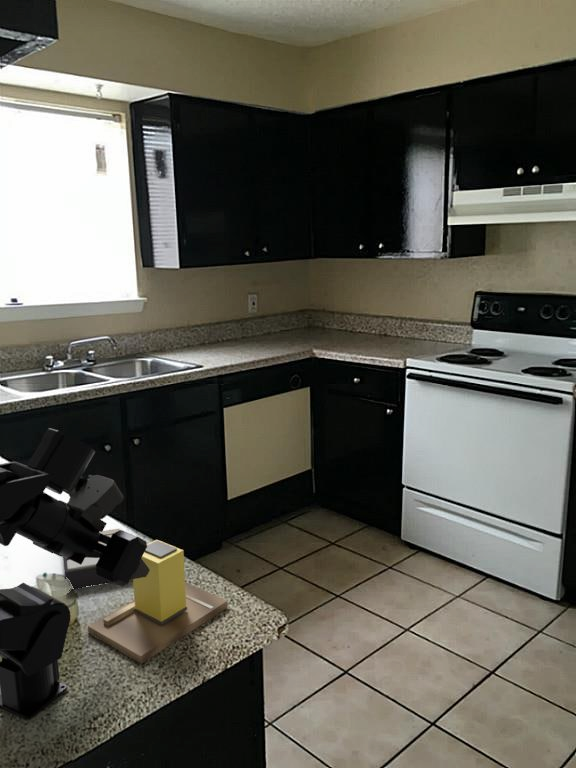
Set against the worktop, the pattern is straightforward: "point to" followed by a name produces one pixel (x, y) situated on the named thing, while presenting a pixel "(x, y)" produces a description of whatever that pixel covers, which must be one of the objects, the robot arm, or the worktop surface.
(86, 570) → the red and grey box
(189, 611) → the subfloor panel
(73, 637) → the worktop surface
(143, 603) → the yellow pillar grey top
